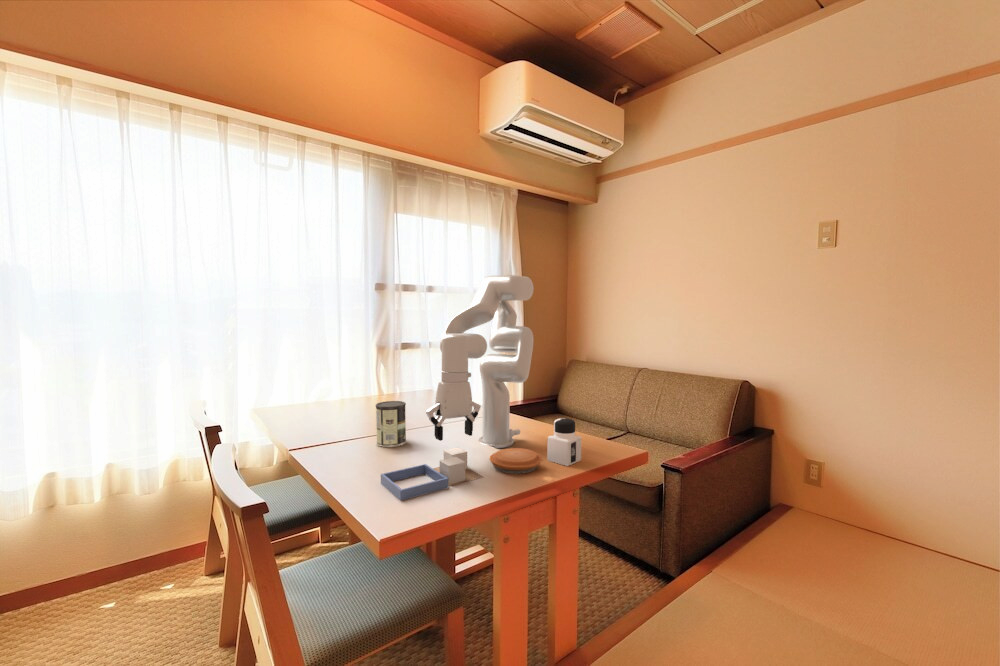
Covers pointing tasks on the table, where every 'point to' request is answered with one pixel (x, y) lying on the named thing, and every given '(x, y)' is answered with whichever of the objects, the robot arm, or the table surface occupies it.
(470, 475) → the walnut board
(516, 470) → the pie
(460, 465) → the pale white cube
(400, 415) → the coffee can
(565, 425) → the container
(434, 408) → the robot arm
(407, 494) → the rectangular frame
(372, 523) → the table surface
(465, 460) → the white block
